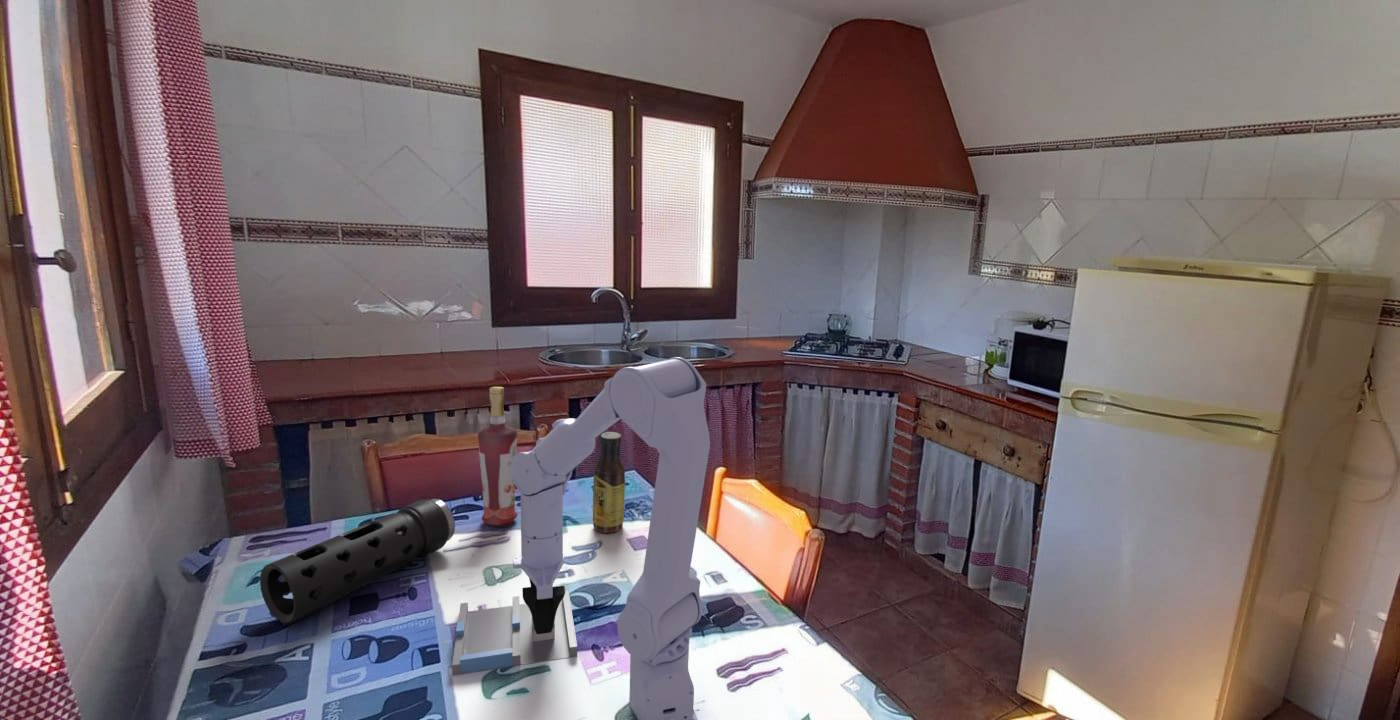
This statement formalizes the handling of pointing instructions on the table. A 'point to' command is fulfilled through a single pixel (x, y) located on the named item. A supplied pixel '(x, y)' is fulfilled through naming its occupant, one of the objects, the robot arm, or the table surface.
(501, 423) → the liquor
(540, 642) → the board
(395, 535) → the muzzle brake
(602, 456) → the sauce bottle
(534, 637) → the beige rectangular box
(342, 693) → the table surface
